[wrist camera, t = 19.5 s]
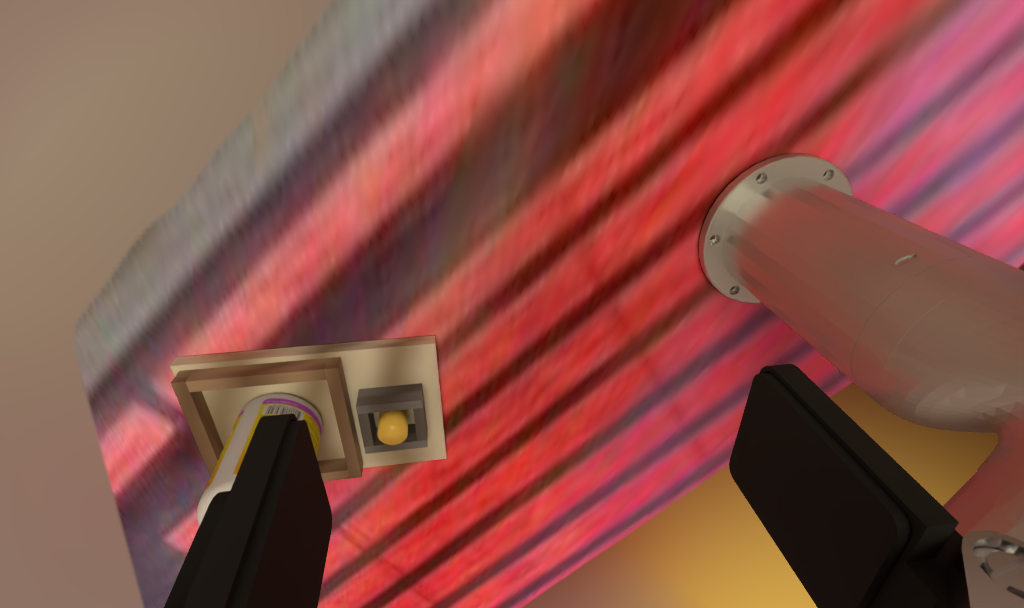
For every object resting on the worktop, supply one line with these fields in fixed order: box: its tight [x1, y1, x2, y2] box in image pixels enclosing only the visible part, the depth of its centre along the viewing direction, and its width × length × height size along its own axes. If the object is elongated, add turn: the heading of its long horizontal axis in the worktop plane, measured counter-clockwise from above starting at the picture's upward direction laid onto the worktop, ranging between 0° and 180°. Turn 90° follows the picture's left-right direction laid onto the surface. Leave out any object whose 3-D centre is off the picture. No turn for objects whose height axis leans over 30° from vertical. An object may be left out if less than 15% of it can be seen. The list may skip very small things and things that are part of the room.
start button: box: [377, 409, 409, 445], centre depth 43 cm, size 2×2×3 cm
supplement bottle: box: [197, 394, 322, 526], centre depth 37 cm, size 7×7×13 cm
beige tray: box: [170, 335, 446, 481], centre depth 43 cm, size 20×13×3 cm, turn 90°
